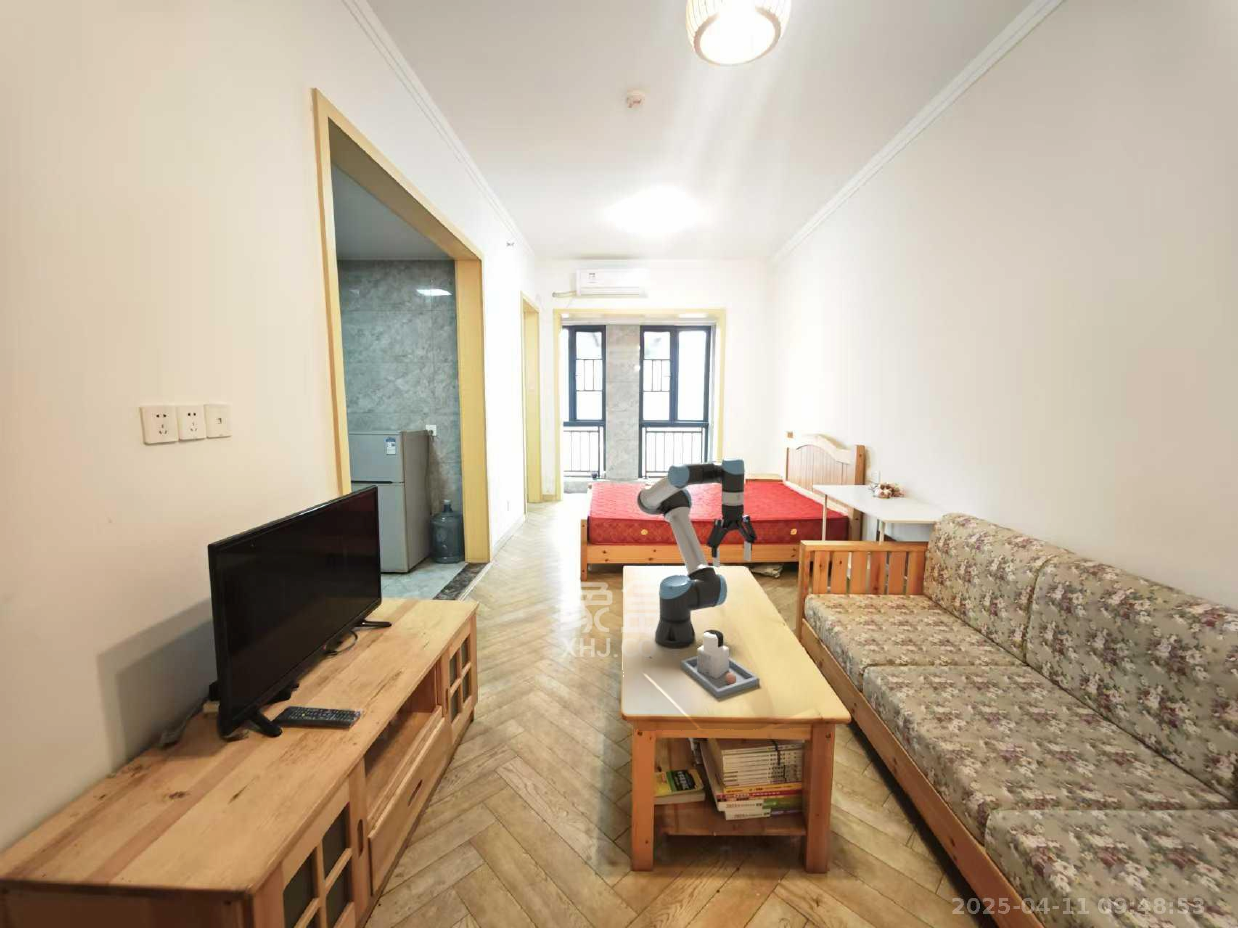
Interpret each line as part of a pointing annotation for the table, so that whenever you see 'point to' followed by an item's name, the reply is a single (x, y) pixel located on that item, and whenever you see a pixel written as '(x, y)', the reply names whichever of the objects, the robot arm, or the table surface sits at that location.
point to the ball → (730, 678)
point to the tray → (722, 678)
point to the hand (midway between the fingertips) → (732, 563)
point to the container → (713, 655)
